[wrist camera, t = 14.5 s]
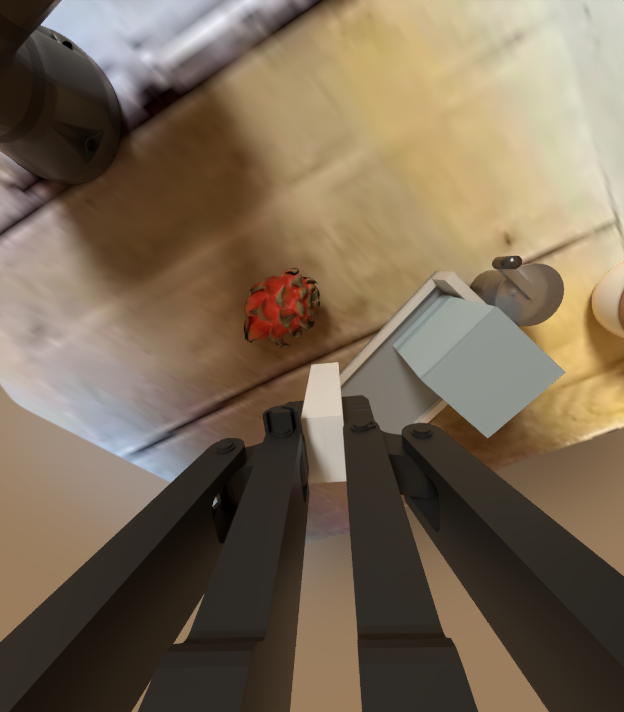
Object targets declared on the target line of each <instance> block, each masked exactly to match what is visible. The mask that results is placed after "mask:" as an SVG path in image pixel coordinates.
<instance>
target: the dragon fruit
mask: <svg viewBox="0 0 624 712" xmlns="http://www.w3.org/2000/svg"><path fill="white" fill-rule="evenodd" d="M298 273H299V270H298V268H291V269H289V270H286V271H284V272H283V273H282V275H281V276H280V277H276V276H272V277H268V278H266V279H264V280H263V281H262V282H260V283H257V284H255V285H253V286H252V288H251V290H250V291H251V294H250V296H249V298H248V300H247V302H246V303H247V304H246V305H245V316H246V320H245V323H244V333H245V339H246V340H247V341H249V342H251V341H252V342H253V341H254V340H261V339H263V338H264V337H266V336H269V338H270V339H271V341H272V342H275V343H276V345H277V346H278V345H280V343H281V344H283V346H281V347H280V348H287V347H289V346H291V345H289V344H287V343H285V342H284V341H283V340H282V337H283V336H284V334H285V333H287V332H289V333H290V334H291V335H292V336H293V337H297V338H299V337H301V336H302V331H301V327H303V328H305V329H306V330H308V329H309V328H313V326H314V323H315V322H314V321H310V320H309V319H315V318H317V317H318V313H317V311H316V310H317V309H318V308H319V306H320V302H319V301H318V300H319V290H318V288H317V287H316V286H315V285H314V284H315V283H317V282H316V281H315V280H314V279H312V278H307V277H302V275H296V274H298ZM317 284H318V283H317ZM299 326H300V327H299ZM298 327H299V328H298ZM248 332H249V337H248V335H247V334H248ZM278 340H279V341H278ZM252 342H251V343H252Z"/></svg>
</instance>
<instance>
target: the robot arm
mask: <svg viewBox="0 0 624 712" xmlns="http://www.w3.org/2000/svg"><path fill="white" fill-rule="evenodd" d="M61 1H62V0H0V151H1V152H2V153H4V154H5V155H7V156H8V157H10V158H11V159H12V160H14V161H15V162H16V163H17V164H18V165H20V166H21V167H22V168H24V169H25V170H27V171H29V172H31V173H33V174H35V175H37V176H39V177H42V178H45V179H48V180H51V181H54V182H58V183H62V184H70V185H74V184H82V183H86V182H89V181H91V180H93V179H95V178H96V177H98V176H99V175H101V174H102V173H103V172H104V171H105V170H106V169H107V168H108V166H109V165H110V164H111V162H112V160H113V158H114V157H115V154H116V152H117V149H118V145H119V141H120V134H121V118H120V110H119V106H118V102H117V99H116V95H115V93H114V90H113V88H112V86H111V84H110V82H109V80H108V78H107V77H106V75H105V74H104V72H103V71H102V69H101V68H100V67H99V66H98V64H97V63H96V62H95V61H94V60H93V59H92V58H91V57H90V56H89V55H87V54H86V53H85V52H84V51H83V50H82V49H81V48H79V47H78V46H77V45H76V44H75V43H74V42H72V41H71V40H69V39H68V38H66V37H65V36H63V35H62V34H60V33H58V32H56V31H53V30H51V29H49V28H46V27H44V26H41V23H42V22H43V21H44V20H45V19H46V18H47V17H48V15H49V14H50V13H51V12H52V11H53V10H54V9H55V7H56V6H57V5H58V4H59V3H60V2H61ZM262 415H263V421H264V426H265V432H266V435H265V438H264V441H263V443H260V444H257V445H254V446H250V447H246V448H245V445H244V441H242V440H241V439H237V438H227V439H223V440H220V441H219V442H216V443H214V444H213V445H212V446H210V447H209V448H208V449H207V450H206V451H205V452H204V453H203V454H202V455H200V456H199V457H198V458H197V459H196V460H195V461H194V462H193V463H192V464H191V465H190V466H189V467H188V468H187V469H185V470H184V471H183V472H182V473H181V474H180V475H179V476H178V477H177V478H176V479H175V480H174V481H173V482H172V483H170V484H169V485H168V486H167V487H166V488H165V489H164V490H163V491H162V492H161V493H160V494H159V495H158V496H157V497H156V498H154V499H153V500H152V501H151V502H150V503H149V504H148V505H147V506H146V507H145V508H144V509H143V510H142V511H141V512H139V513H138V514H137V515H136V516H135V517H134V518H133V519H132V520H131V521H130V522H129V523H128V524H127V525H125V527H123V528H122V529H121V530H120V531H119V532H118V533H117V534H116V535H115V536H114V537H113V538H112V539H110V540H109V541H108V542H107V543H106V544H105V545H104V546H103V547H102V548H101V549H100V550H99V551H98V552H97V553H95V554H94V555H93V556H92V557H91V558H90V559H89V560H88V561H87V562H86V563H85V564H84V565H83V566H82V567H80V568H79V570H77V571H76V572H75V573H74V574H73V575H72V576H71V577H70V578H69V579H68V580H67V581H66V582H65V583H63V584H62V585H61V586H60V587H59V588H58V589H57V590H56V591H55V592H54V593H53V594H52V595H50V596H49V597H48V598H47V599H46V600H45V601H44V602H43V603H42V604H41V605H40V606H39V607H38V608H36V609H35V610H34V611H33V612H32V614H30V615H29V616H28V617H27V618H26V619H25V620H24V621H23V622H21V624H19V625H18V626H17V627H16V628H15V629H14V630H13V631H12V632H11V633H10V634H9V635H8V636H7V637H6V638H4V639H3V640H2V641H1V642H0V712H131V711H132V710H133V708H134V707H135V705H136V703H137V702H138V700H139V698H140V696H141V695H142V694H143V692H144V690H145V689H146V687H147V685H148V684H149V682H150V681H151V682H150V685H149V687H148V689H147V692H146V694H145V696H144V699H143V701H142V703H141V705H140V708H139V710H138V712H290V704H291V692H292V680H293V670H294V658H295V647H296V635H297V624H298V614H299V603H300V590H301V580H302V569H303V558H304V546H305V535H306V524H307V513H308V502H309V486H308V474H309V481H310V483H326V482H342V481H347V495H348V509H349V522H350V536H351V549H352V562H353V577H354V591H355V605H356V618H357V632H358V657H359V671H360V687H361V701H362V712H478V710H477V707H476V704H475V701H474V698H473V695H472V692H471V689H470V686H469V683H468V680H467V677H466V674H465V671H464V668H463V665H462V662H461V659H460V657H459V654H458V651H457V649H456V647H455V645H454V643H453V641H452V640H451V638H446V637H445V635H444V633H443V630H442V627H441V624H440V621H439V618H438V614H437V611H436V608H435V605H434V601H433V598H432V595H431V592H430V588H429V585H428V582H427V579H426V576H425V572H424V569H423V566H422V563H421V559H420V556H419V553H418V550H417V547H416V543H415V540H414V537H413V534H412V530H411V527H410V524H409V520H408V517H407V514H406V511H405V507H404V504H403V501H402V498H401V495H404V498H405V501H406V503H407V504H408V506H409V507H410V509H411V510H412V512H413V513H414V515H415V516H416V517H417V519H418V521H419V522H420V523H421V525H422V526H423V528H424V529H425V531H426V532H427V534H428V535H429V537H430V538H431V540H432V541H433V543H434V544H435V545H436V547H437V548H438V550H439V551H440V553H441V554H442V555H443V557H444V559H445V560H446V561H447V563H448V564H449V566H450V567H451V568H452V570H453V572H454V573H455V575H456V576H457V578H458V579H459V581H460V582H461V583H462V585H463V586H464V588H465V589H466V591H467V592H468V594H469V595H470V597H471V598H472V600H473V601H474V602H475V604H476V605H477V607H478V608H479V610H480V611H481V613H482V614H483V616H484V617H485V619H486V620H487V622H488V623H489V625H490V626H491V627H492V629H493V630H494V632H495V633H496V635H497V636H498V638H499V639H500V640H501V642H502V644H503V645H504V646H505V648H506V649H507V651H508V652H509V654H510V655H511V657H512V658H513V660H514V661H515V663H516V664H517V666H518V667H519V668H520V670H521V671H522V673H523V674H524V676H525V677H526V679H527V680H528V682H529V683H530V685H531V686H532V687H533V689H534V690H535V692H536V693H537V695H538V696H539V698H540V699H541V701H542V702H543V704H544V705H545V707H546V708H547V709H548V711H549V712H624V576H623V575H621V574H620V573H619V572H618V571H616V570H615V569H614V568H613V567H611V566H610V565H609V564H608V563H607V562H605V561H604V560H603V559H601V558H600V557H599V556H598V555H596V554H595V553H594V552H593V551H592V550H590V549H589V548H588V547H587V546H585V545H584V544H583V543H581V542H580V541H579V540H578V539H577V538H575V537H574V536H573V535H571V534H570V533H569V532H568V531H567V530H565V529H564V528H563V527H562V526H561V525H559V524H558V523H557V522H555V521H554V520H553V519H552V518H551V517H549V516H548V515H547V514H546V513H544V512H543V511H542V510H541V509H539V508H538V507H537V506H536V505H534V504H533V503H532V502H531V501H529V500H528V499H527V498H526V497H524V496H523V495H522V494H521V493H519V492H518V491H517V490H516V489H514V488H513V487H512V486H511V485H509V484H508V483H507V482H506V481H505V480H503V479H502V478H501V477H499V476H498V475H497V474H496V473H495V472H493V471H492V470H491V469H490V468H488V467H487V466H486V465H485V464H483V463H482V462H481V461H480V460H478V459H477V458H476V457H475V456H473V455H472V454H471V453H470V452H468V451H467V450H466V449H465V448H463V447H462V446H461V445H460V444H458V443H457V442H456V441H455V440H454V439H452V438H451V437H450V436H449V435H447V434H446V433H445V432H444V431H442V430H441V429H440V428H438V427H436V426H434V425H431V424H428V423H413V424H410V425H407V426H405V427H404V428H403V429H402V432H401V434H402V435H400V434H392V433H387V432H384V431H382V430H380V426H379V425H378V423H377V422H375V420H374V416H373V413H372V410H371V406H370V403H369V400H368V398H366V397H365V396H363V395H357V396H345V397H341V386H340V376H339V366H338V362H335V363H325V364H314V365H311V369H310V375H309V380H308V385H307V390H306V395H305V400H304V401H296V402H288V403H287V404H285V405H281V406H276V407H273V408H270V409H268V410H266V411H265V412H264V413H263V414H262ZM400 494H401V495H400ZM215 497H216V498H217V503H216V504H215V505H214V506H213V507H212V505H213V501H214V499H215ZM204 593H205V594H204ZM203 595H204V597H203V600H202V602H201V605H200V608H199V610H198V613H197V615H196V618H195V621H194V623H193V626H192V628H191V631H190V633H189V635H188V637H187V639H186V640H185V641H184V642H183V643H180V644H173V643H174V642H175V640H176V638H177V637H178V635H179V634H180V632H181V630H182V629H183V627H184V626H185V624H186V622H187V621H188V619H189V617H190V616H191V614H192V613H193V611H194V609H195V608H196V606H197V604H198V603H199V601H200V600H201V598H202V596H203ZM152 677H153V678H152ZM151 679H152V680H151Z"/></svg>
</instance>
